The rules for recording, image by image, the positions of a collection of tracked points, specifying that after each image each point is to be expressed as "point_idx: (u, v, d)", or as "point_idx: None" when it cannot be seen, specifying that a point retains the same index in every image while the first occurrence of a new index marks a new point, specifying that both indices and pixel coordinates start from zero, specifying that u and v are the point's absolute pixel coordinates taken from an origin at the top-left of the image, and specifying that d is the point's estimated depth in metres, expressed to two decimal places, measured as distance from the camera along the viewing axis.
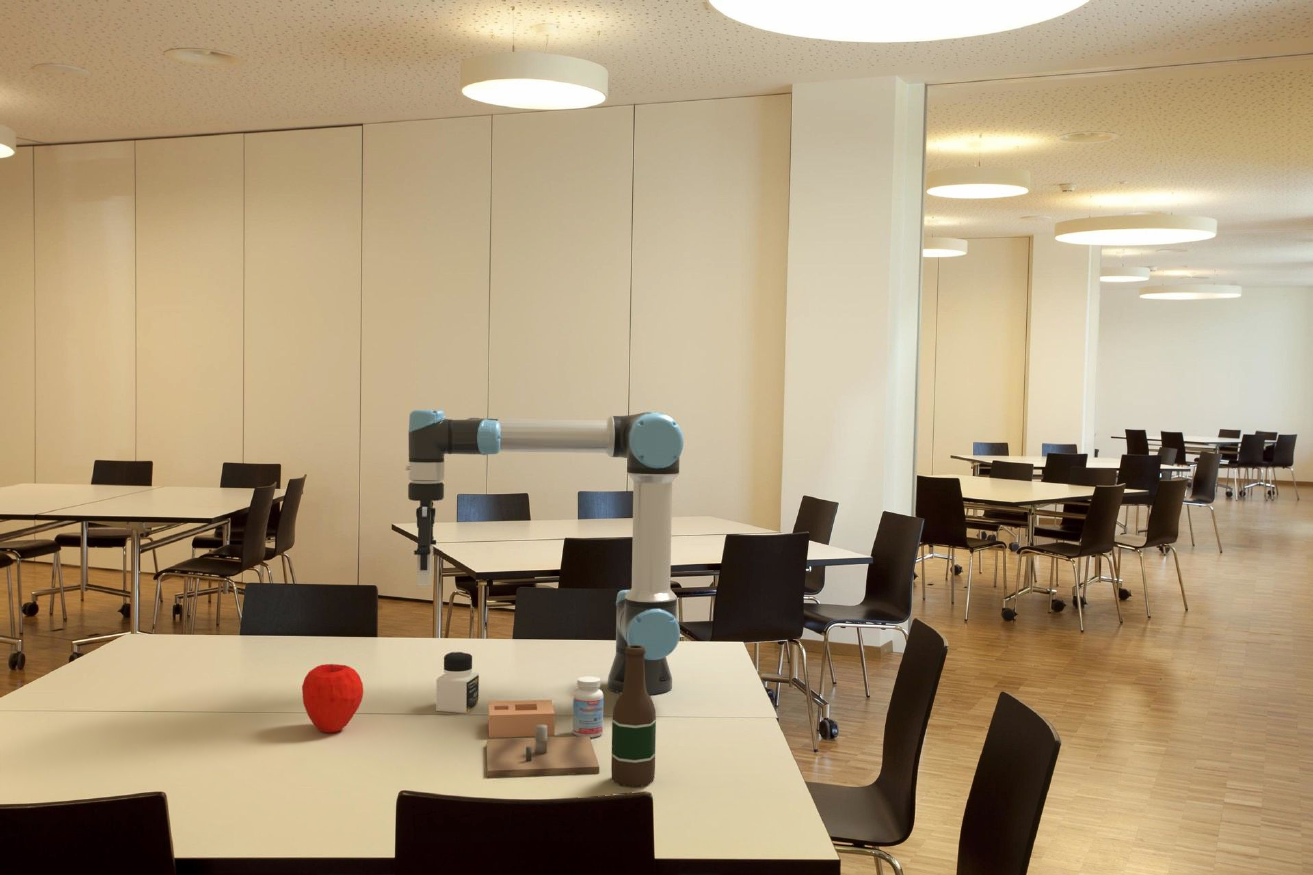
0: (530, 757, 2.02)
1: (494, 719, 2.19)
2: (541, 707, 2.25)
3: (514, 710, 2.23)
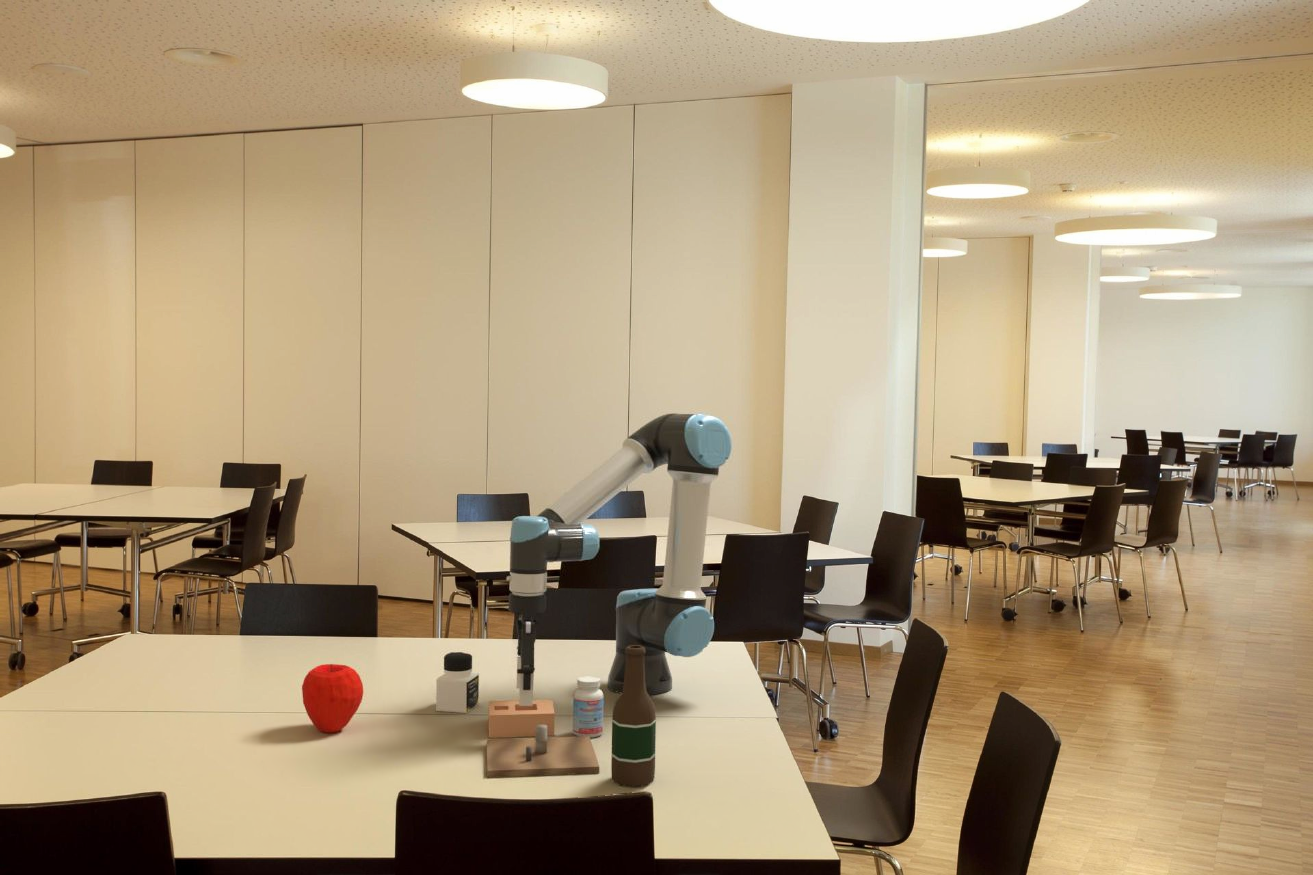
0: (530, 757, 2.02)
1: (494, 719, 2.19)
2: (541, 707, 2.25)
3: (514, 710, 2.23)
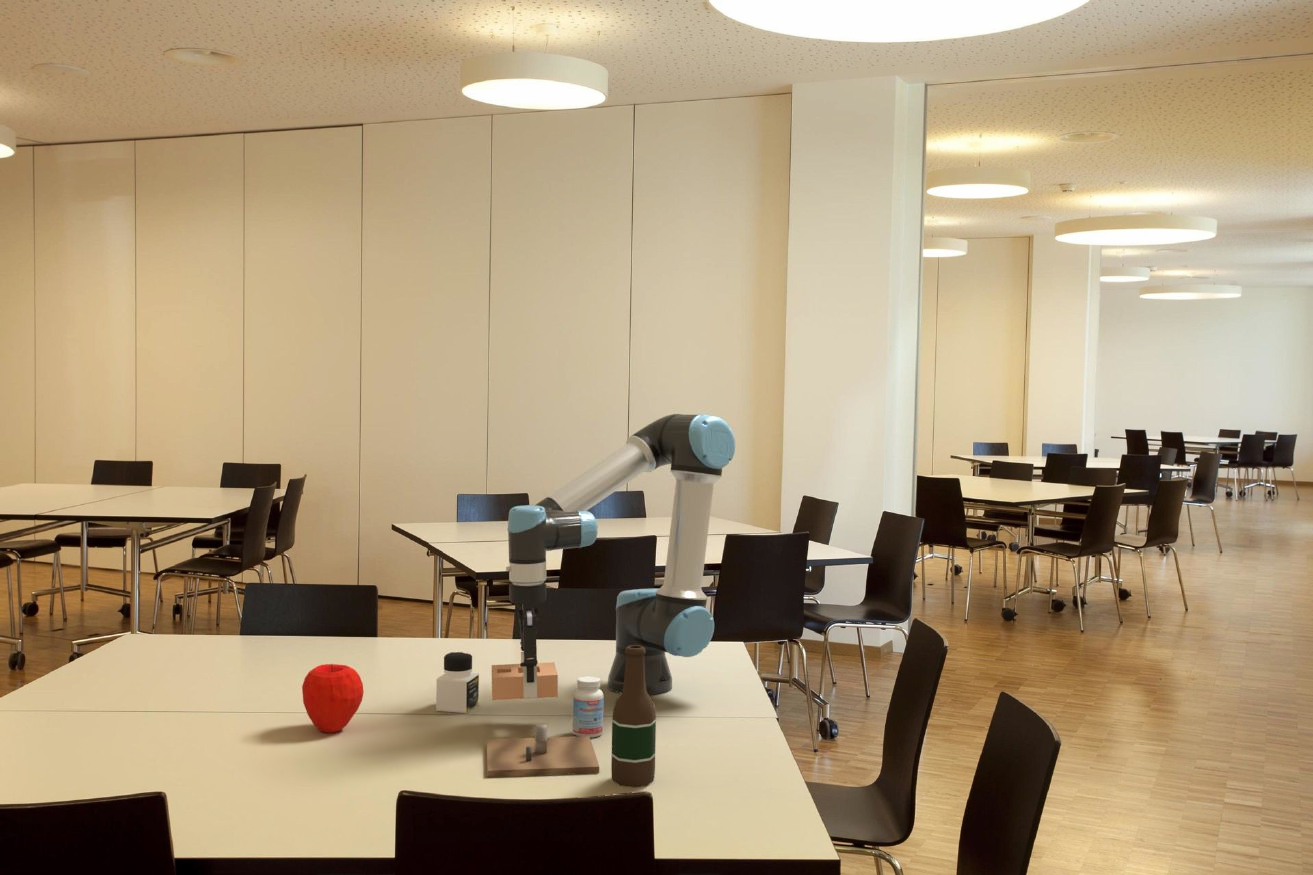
0: (530, 757, 2.02)
1: (497, 682, 2.19)
2: (544, 669, 2.25)
3: (517, 673, 2.23)
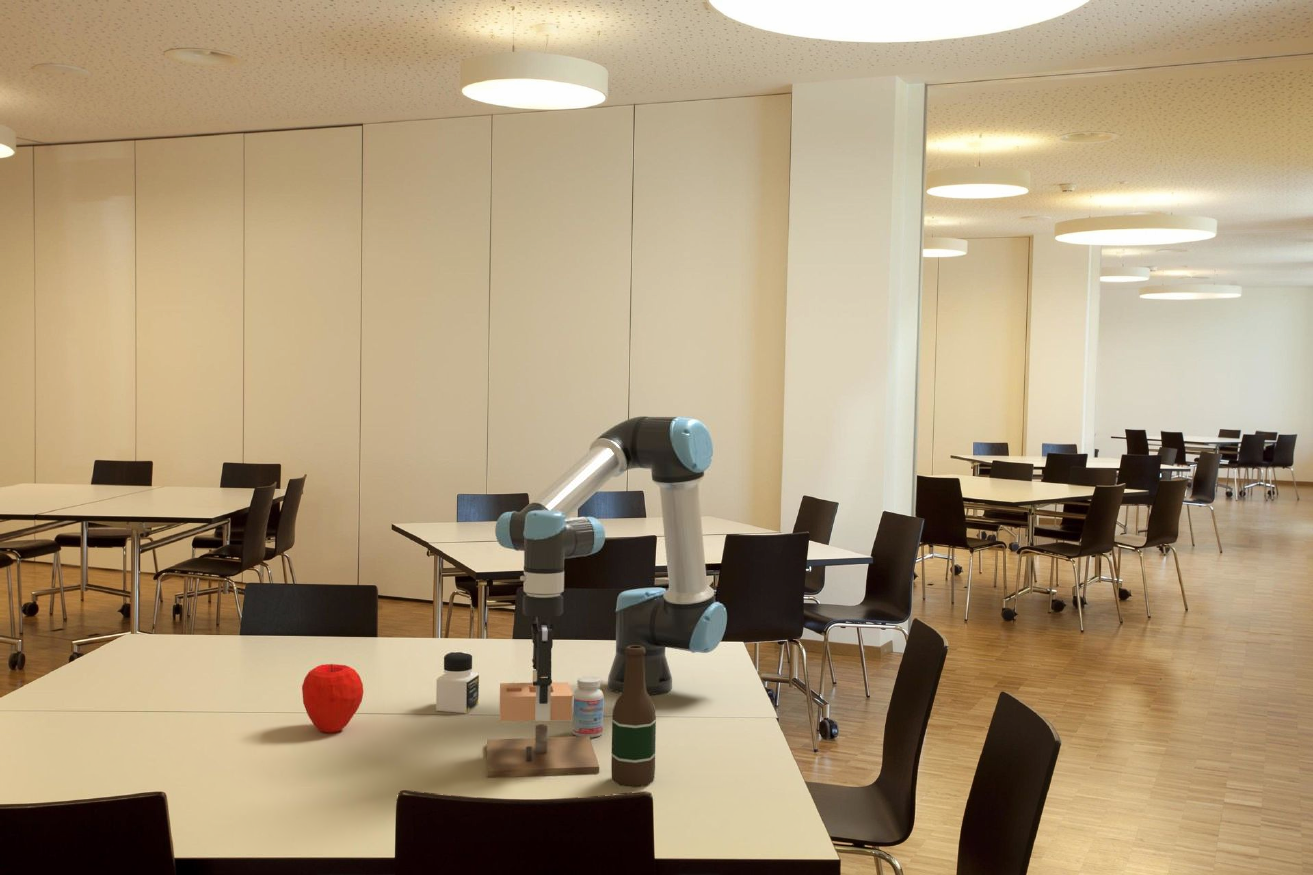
0: (530, 757, 2.02)
1: (506, 701, 2.00)
2: (558, 689, 2.06)
3: (528, 692, 2.04)
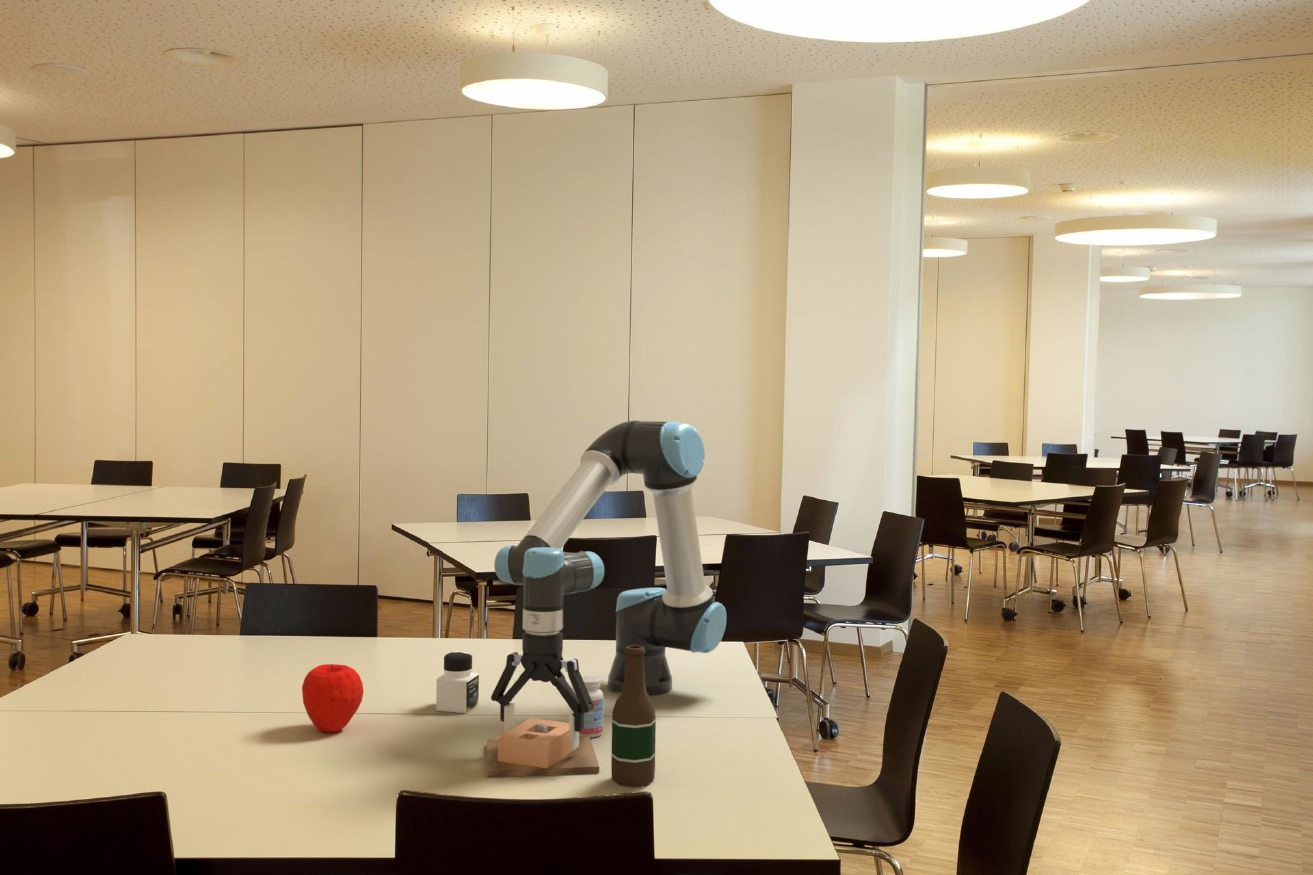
0: None
1: (549, 746, 1.99)
2: (552, 724, 2.09)
3: (545, 733, 2.04)
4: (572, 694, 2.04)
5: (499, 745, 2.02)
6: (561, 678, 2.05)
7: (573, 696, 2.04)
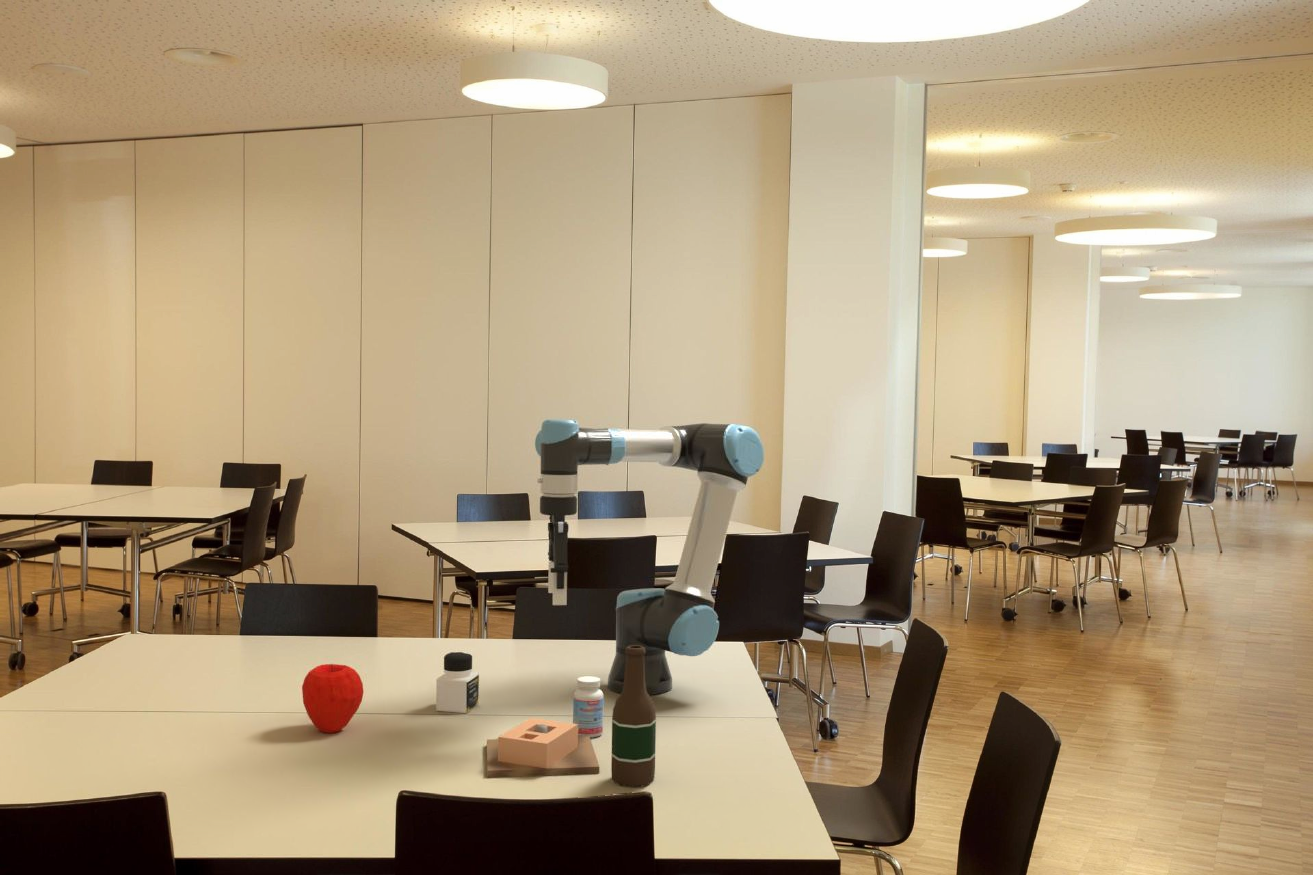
0: None
1: (549, 746, 1.99)
2: (552, 724, 2.09)
3: (545, 733, 2.04)
4: None
5: (499, 745, 2.02)
6: None
7: None
